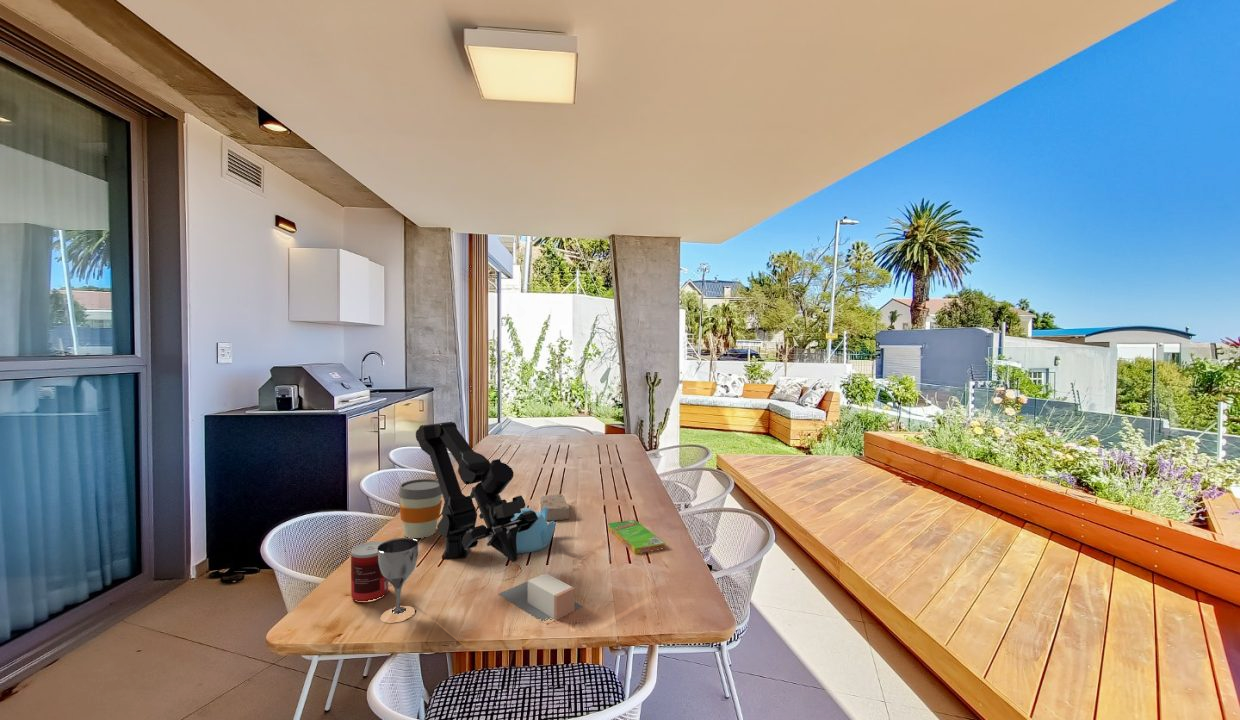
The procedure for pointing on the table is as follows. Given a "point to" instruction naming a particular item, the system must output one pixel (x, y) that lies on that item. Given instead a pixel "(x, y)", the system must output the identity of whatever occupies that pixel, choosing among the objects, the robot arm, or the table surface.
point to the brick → (555, 506)
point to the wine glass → (397, 563)
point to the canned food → (366, 573)
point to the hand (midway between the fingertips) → (515, 561)
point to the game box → (635, 536)
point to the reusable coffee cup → (420, 507)
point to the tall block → (551, 596)
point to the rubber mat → (526, 601)
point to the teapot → (535, 533)
